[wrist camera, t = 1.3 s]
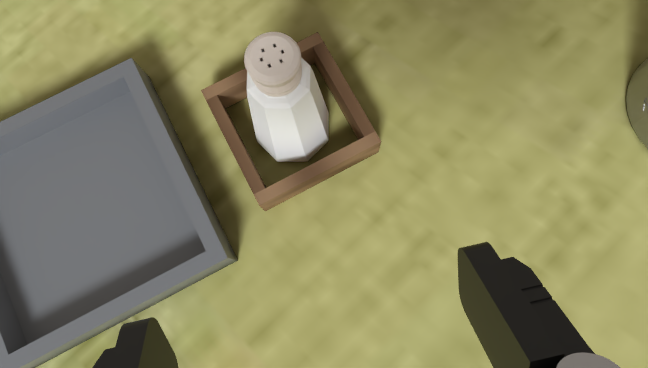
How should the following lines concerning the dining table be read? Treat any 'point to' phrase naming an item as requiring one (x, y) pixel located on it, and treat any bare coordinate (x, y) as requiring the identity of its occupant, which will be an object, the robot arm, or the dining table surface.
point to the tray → (96, 215)
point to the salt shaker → (284, 99)
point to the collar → (317, 172)
